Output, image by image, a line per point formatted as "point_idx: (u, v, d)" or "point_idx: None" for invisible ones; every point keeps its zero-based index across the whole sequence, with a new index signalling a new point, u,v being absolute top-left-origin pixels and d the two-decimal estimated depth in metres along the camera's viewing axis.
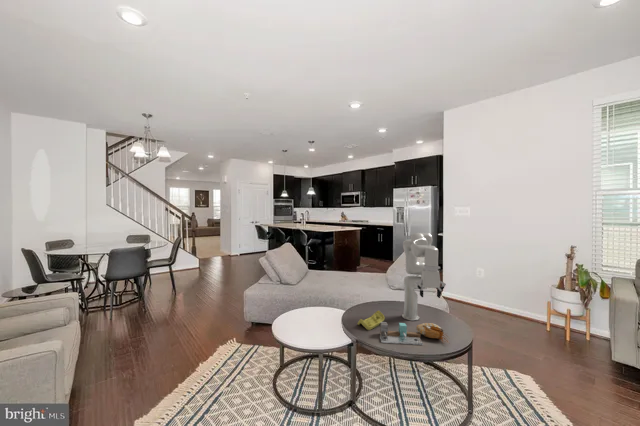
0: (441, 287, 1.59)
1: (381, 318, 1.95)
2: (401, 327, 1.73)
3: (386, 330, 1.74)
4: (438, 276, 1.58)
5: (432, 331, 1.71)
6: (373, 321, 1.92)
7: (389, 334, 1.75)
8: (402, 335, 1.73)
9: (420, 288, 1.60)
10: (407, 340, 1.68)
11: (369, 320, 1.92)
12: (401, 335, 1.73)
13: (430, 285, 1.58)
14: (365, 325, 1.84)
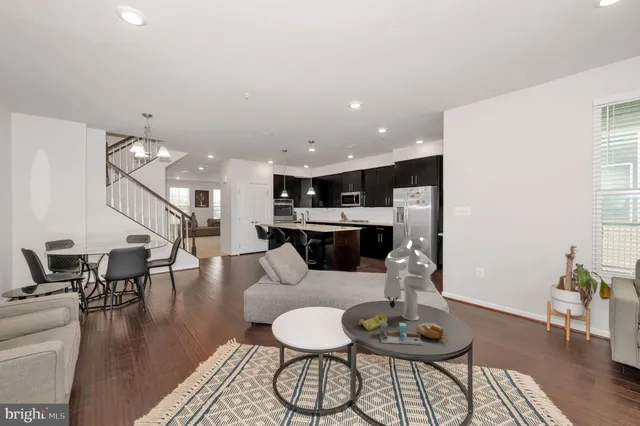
0: None
1: (383, 319, 1.92)
2: (401, 327, 1.73)
3: (386, 330, 1.74)
4: (399, 286, 1.73)
5: (432, 331, 1.71)
6: (375, 322, 1.90)
7: (389, 334, 1.75)
8: (402, 335, 1.73)
9: None
10: (407, 340, 1.68)
11: (371, 321, 1.91)
12: (401, 335, 1.73)
13: (392, 294, 1.73)
14: (365, 325, 1.84)
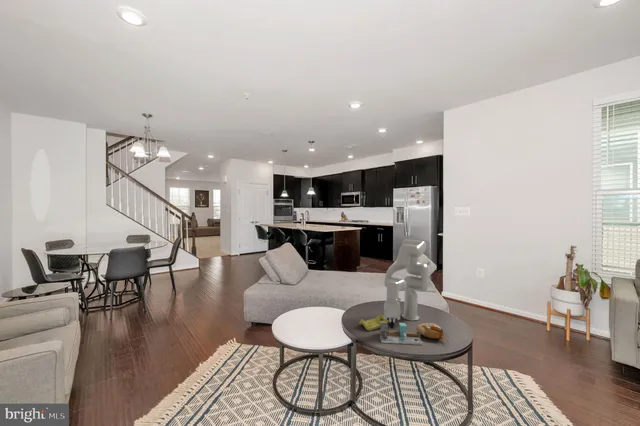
0: None
1: (385, 320, 1.91)
2: (401, 327, 1.73)
3: (386, 330, 1.74)
4: (398, 307, 1.73)
5: (432, 331, 1.71)
6: (376, 323, 1.89)
7: (389, 334, 1.75)
8: (402, 335, 1.73)
9: (389, 321, 1.75)
10: (407, 340, 1.68)
11: (372, 321, 1.90)
12: (401, 335, 1.73)
13: (391, 315, 1.73)
14: (365, 325, 1.84)
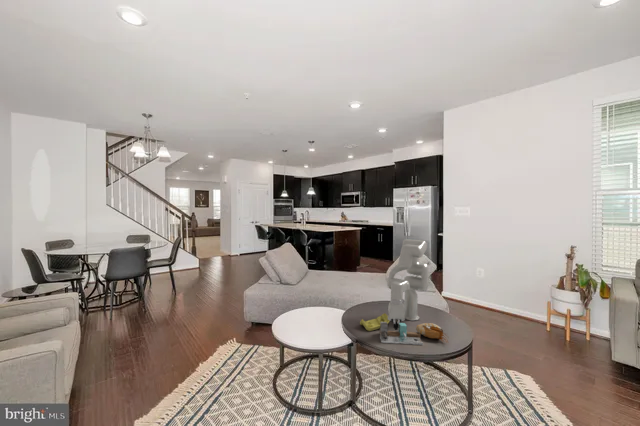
0: None
1: (386, 321, 1.90)
2: (401, 327, 1.73)
3: (386, 330, 1.74)
4: (402, 309, 1.73)
5: (432, 331, 1.71)
6: (376, 323, 1.89)
7: (389, 334, 1.75)
8: (402, 335, 1.73)
9: (393, 322, 1.75)
10: (407, 340, 1.68)
11: (372, 321, 1.89)
12: (401, 335, 1.73)
13: (395, 317, 1.73)
14: (365, 326, 1.83)
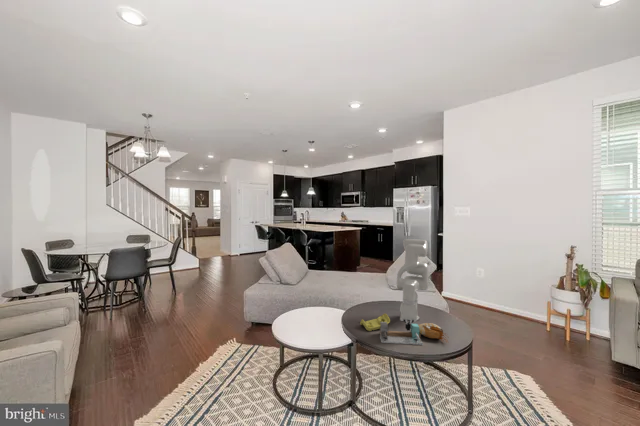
0: None
1: (386, 321, 1.89)
2: (413, 328, 1.73)
3: (386, 330, 1.74)
4: (415, 309, 1.72)
5: (432, 331, 1.71)
6: (377, 323, 1.88)
7: (389, 334, 1.75)
8: (414, 336, 1.73)
9: None
10: (407, 340, 1.68)
11: (372, 322, 1.89)
12: (413, 336, 1.73)
13: (408, 317, 1.73)
14: (365, 326, 1.83)
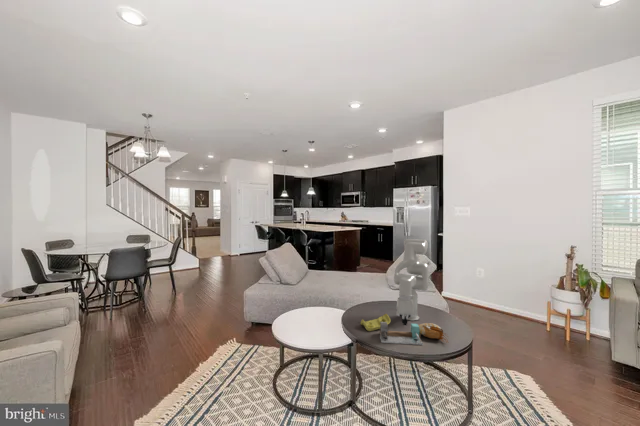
0: None
1: (387, 322, 1.89)
2: (413, 328, 1.73)
3: (386, 330, 1.74)
4: (411, 304, 1.73)
5: (432, 331, 1.71)
6: (377, 323, 1.88)
7: (389, 334, 1.75)
8: (414, 336, 1.73)
9: (402, 318, 1.75)
10: (407, 340, 1.68)
11: (373, 322, 1.89)
12: (413, 336, 1.73)
13: (404, 312, 1.74)
14: (365, 326, 1.83)
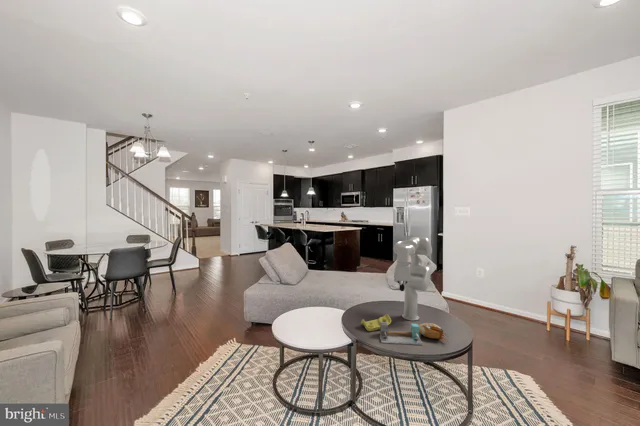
0: None
1: (387, 322, 1.88)
2: (413, 328, 1.73)
3: (386, 330, 1.74)
4: (408, 270, 1.81)
5: (432, 331, 1.71)
6: (377, 324, 1.88)
7: (389, 334, 1.75)
8: (414, 336, 1.73)
9: None
10: (407, 340, 1.68)
11: (373, 322, 1.89)
12: (413, 336, 1.73)
13: (401, 278, 1.82)
14: (365, 326, 1.83)
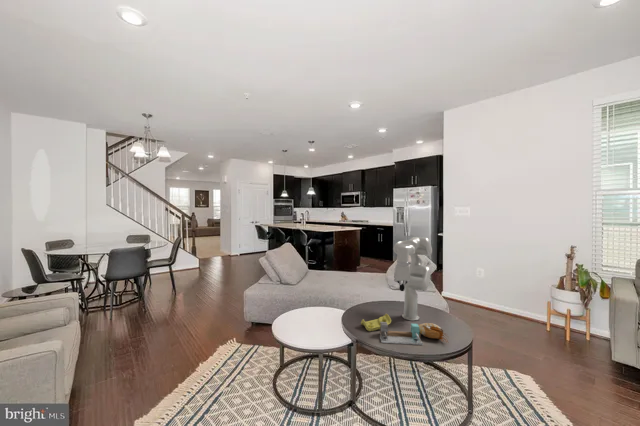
0: None
1: (387, 322, 1.88)
2: (413, 328, 1.73)
3: (386, 330, 1.74)
4: (408, 270, 1.81)
5: (432, 331, 1.71)
6: (377, 323, 1.88)
7: (389, 334, 1.75)
8: (414, 336, 1.73)
9: None
10: (407, 340, 1.68)
11: (373, 322, 1.89)
12: (413, 336, 1.73)
13: (401, 278, 1.82)
14: (365, 326, 1.83)
